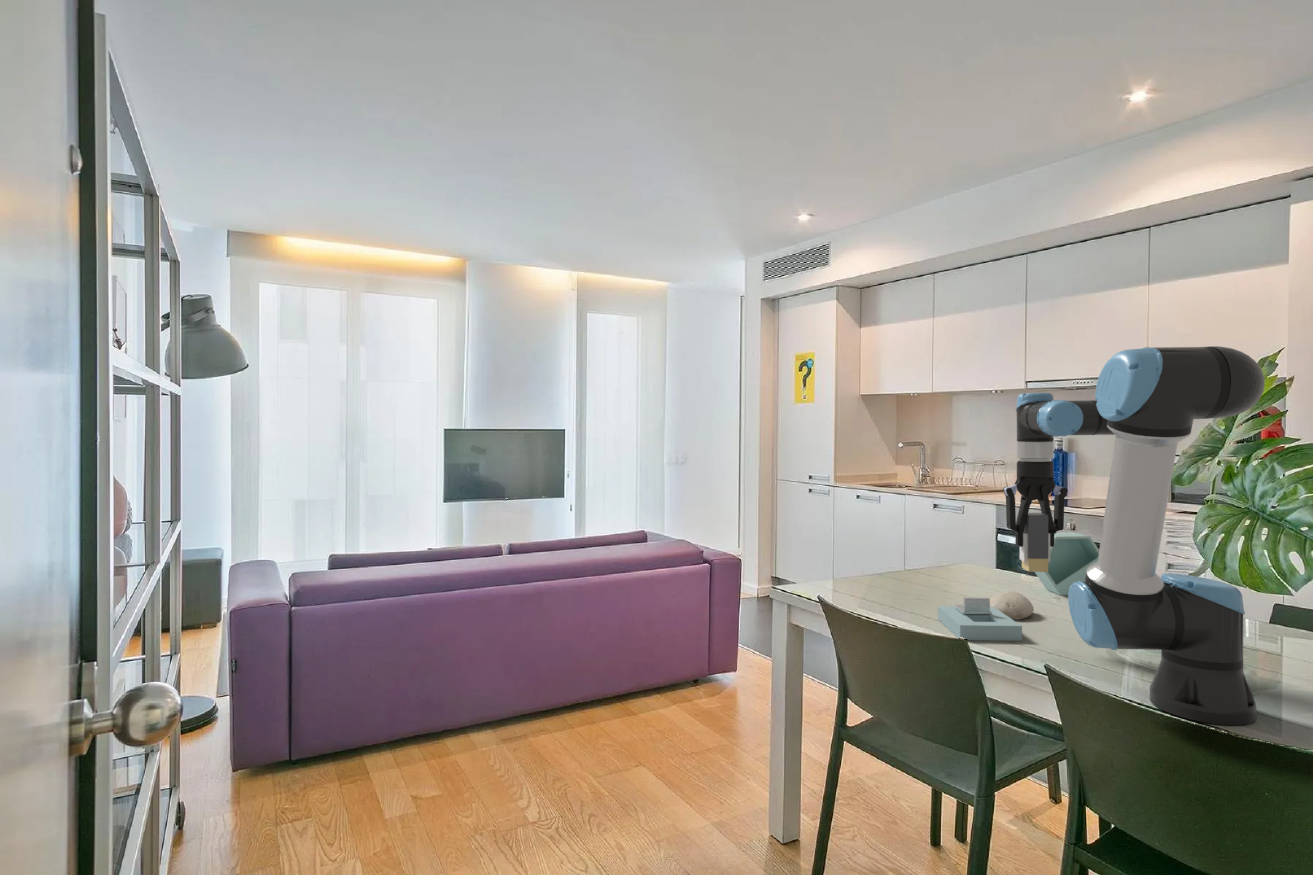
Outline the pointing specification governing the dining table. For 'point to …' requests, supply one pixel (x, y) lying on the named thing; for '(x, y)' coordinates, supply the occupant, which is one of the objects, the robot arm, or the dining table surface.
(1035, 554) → the plug
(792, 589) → the dining table surface
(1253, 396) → the robot arm
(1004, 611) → the stone
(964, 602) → the shutter
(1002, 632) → the socket board
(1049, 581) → the planter
